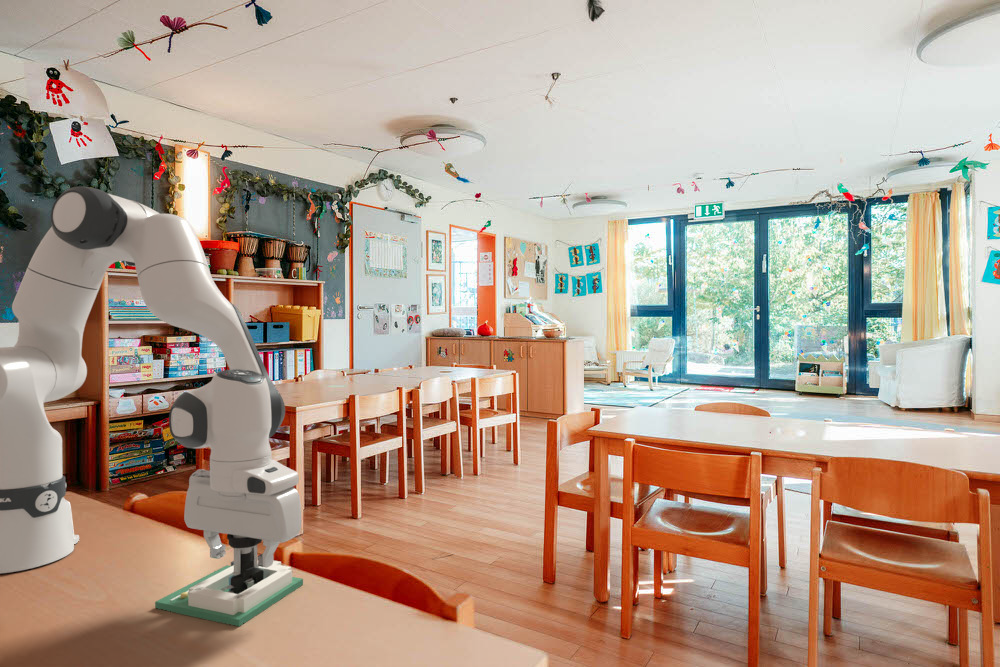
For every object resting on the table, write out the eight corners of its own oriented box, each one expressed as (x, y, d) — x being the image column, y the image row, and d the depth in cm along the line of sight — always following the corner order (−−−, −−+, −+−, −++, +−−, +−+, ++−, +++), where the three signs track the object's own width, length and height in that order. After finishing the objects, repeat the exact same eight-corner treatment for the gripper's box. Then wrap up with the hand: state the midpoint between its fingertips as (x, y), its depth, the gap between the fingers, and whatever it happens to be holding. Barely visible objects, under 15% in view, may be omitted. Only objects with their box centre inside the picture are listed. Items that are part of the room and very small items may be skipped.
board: (155, 608, 87) (155, 588, 87) (228, 569, 101) (228, 552, 101) (239, 626, 82) (239, 605, 82) (304, 583, 95) (304, 565, 95)
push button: (231, 604, 86) (230, 538, 86) (212, 594, 89) (211, 530, 89) (270, 587, 92) (270, 525, 92) (251, 579, 95) (251, 519, 95)
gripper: (173, 472, 90) (173, 559, 91) (279, 485, 84) (279, 579, 84) (206, 463, 96) (206, 545, 97) (307, 474, 90) (307, 562, 90)
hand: (241, 561), depth 90 cm, fingers open, 8 cm apart
